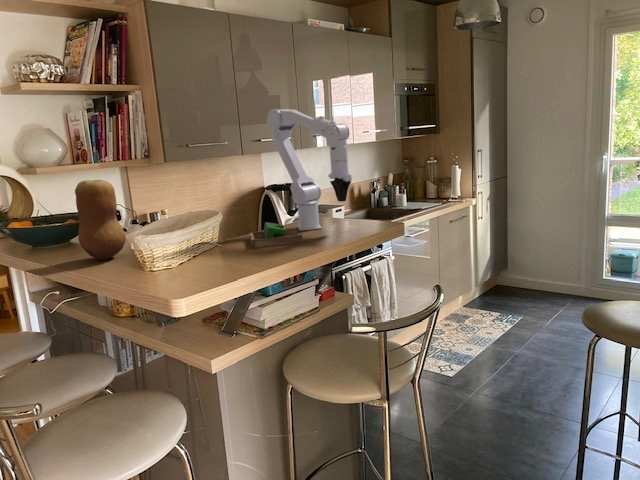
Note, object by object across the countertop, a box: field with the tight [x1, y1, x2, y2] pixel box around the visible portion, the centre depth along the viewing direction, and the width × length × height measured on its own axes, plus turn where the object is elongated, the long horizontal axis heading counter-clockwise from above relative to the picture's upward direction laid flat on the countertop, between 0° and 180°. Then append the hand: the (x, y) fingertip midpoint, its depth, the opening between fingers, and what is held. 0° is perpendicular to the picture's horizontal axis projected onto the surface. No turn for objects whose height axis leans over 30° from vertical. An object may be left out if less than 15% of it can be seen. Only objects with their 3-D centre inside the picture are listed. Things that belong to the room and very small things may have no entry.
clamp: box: [263, 221, 286, 239], centre depth 170 cm, size 12×6×9 cm, turn 5°
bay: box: [249, 226, 304, 249], centre depth 170 cm, size 14×16×2 cm
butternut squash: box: [74, 179, 126, 261], centre depth 161 cm, size 14×13×25 cm
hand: (341, 201), depth 176 cm, fingers closed
